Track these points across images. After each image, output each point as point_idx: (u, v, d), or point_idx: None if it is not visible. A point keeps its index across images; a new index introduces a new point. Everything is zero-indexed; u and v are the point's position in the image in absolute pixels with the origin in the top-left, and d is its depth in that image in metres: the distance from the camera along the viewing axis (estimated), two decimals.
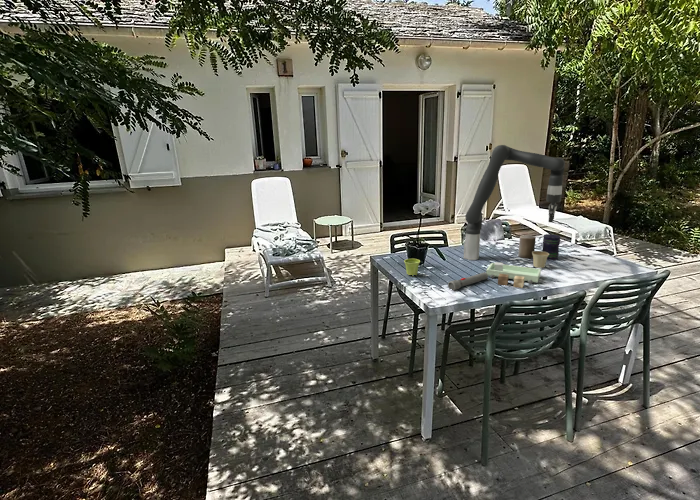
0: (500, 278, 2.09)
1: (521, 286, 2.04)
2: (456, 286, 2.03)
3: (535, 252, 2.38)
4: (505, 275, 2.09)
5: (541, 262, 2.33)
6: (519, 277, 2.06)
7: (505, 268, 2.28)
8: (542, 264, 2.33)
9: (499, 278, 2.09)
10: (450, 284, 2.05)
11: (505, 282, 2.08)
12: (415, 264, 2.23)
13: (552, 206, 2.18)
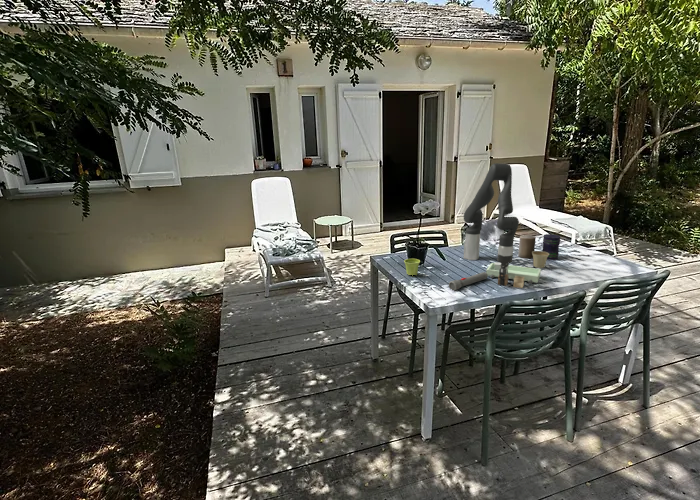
0: None
1: (521, 286, 2.04)
2: (457, 286, 2.03)
3: (535, 252, 2.39)
4: (505, 275, 2.09)
5: (541, 262, 2.33)
6: (519, 277, 2.06)
7: None
8: (542, 264, 2.33)
9: (499, 278, 2.09)
10: (451, 284, 2.05)
11: (505, 282, 2.08)
12: (415, 264, 2.23)
13: (502, 270, 2.03)
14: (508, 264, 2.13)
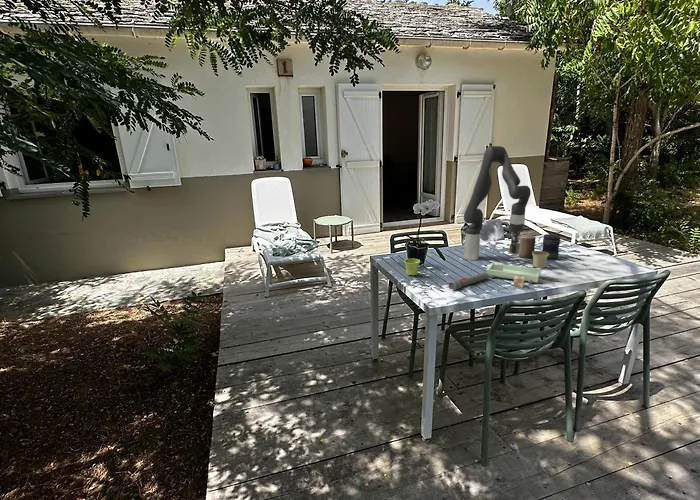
0: None
1: (521, 286, 2.04)
2: (457, 286, 2.03)
3: (535, 252, 2.39)
4: (517, 244, 2.15)
5: (541, 262, 2.33)
6: (519, 277, 2.06)
7: (505, 268, 2.28)
8: (542, 264, 2.33)
9: (511, 246, 2.15)
10: (451, 284, 2.05)
11: (517, 250, 2.14)
12: (415, 264, 2.23)
13: (514, 238, 2.09)
14: (519, 233, 2.19)
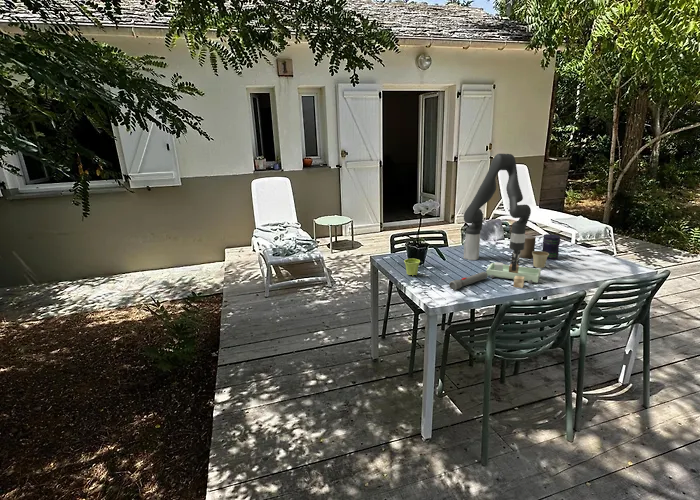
0: (511, 268, 2.18)
1: (521, 286, 2.04)
2: (457, 286, 2.03)
3: (535, 252, 2.39)
4: None
5: (541, 262, 2.33)
6: (519, 277, 2.06)
7: (505, 268, 2.28)
8: (542, 264, 2.33)
9: (510, 268, 2.18)
10: (451, 284, 2.05)
11: (516, 272, 2.17)
12: (415, 264, 2.23)
13: (514, 255, 2.09)
14: None
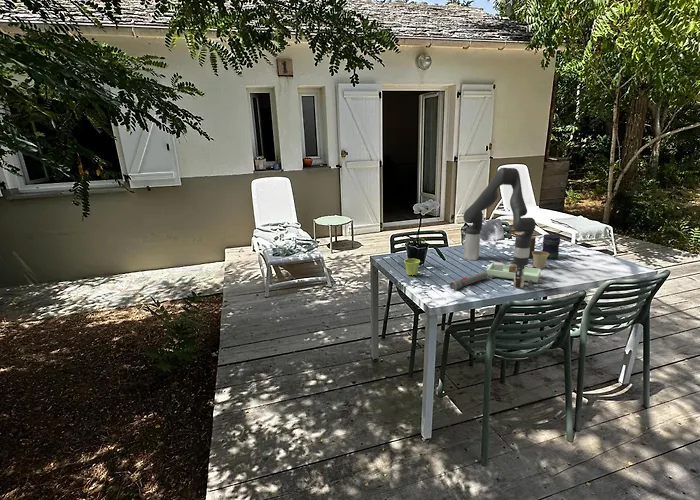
0: (511, 268, 2.18)
1: (521, 286, 2.04)
2: (458, 286, 2.03)
3: (535, 252, 2.38)
4: (516, 265, 2.19)
5: (541, 262, 2.33)
6: None
7: (505, 268, 2.28)
8: (542, 264, 2.33)
9: (510, 268, 2.18)
10: (451, 284, 2.05)
11: None
12: (415, 264, 2.23)
13: (518, 273, 1.99)
14: None
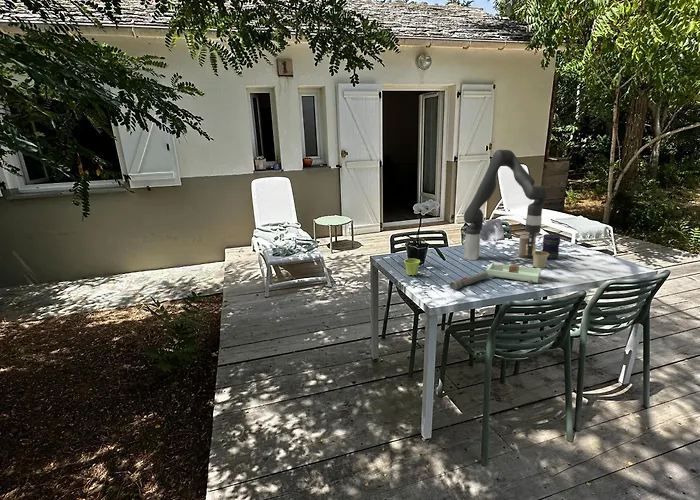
0: (511, 268, 2.18)
1: (533, 253, 2.10)
2: (458, 286, 2.03)
3: (535, 252, 2.39)
4: (516, 265, 2.19)
5: (541, 262, 2.33)
6: None
7: (505, 268, 2.28)
8: (542, 264, 2.33)
9: (510, 268, 2.18)
10: (451, 284, 2.05)
11: (516, 272, 2.17)
12: (415, 264, 2.23)
13: (530, 240, 2.05)
14: (535, 235, 2.15)
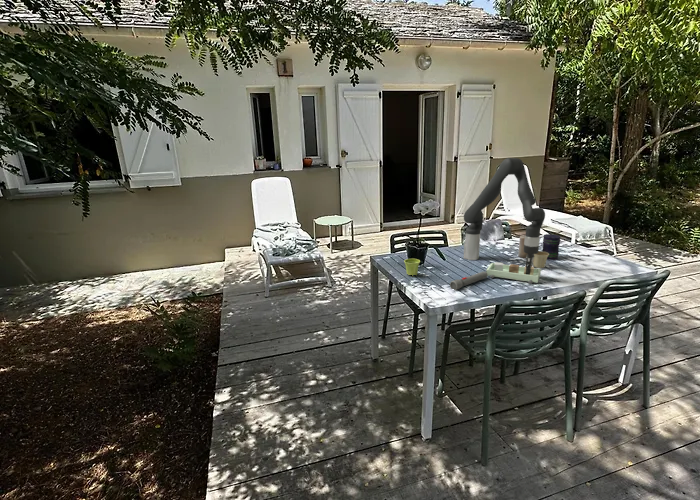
0: (511, 268, 2.18)
1: None
2: (458, 286, 2.03)
3: None
4: (516, 265, 2.19)
5: (541, 262, 2.33)
6: None
7: (505, 268, 2.28)
8: (542, 264, 2.33)
9: (510, 268, 2.18)
10: (452, 284, 2.05)
11: (516, 272, 2.17)
12: (415, 264, 2.23)
13: (529, 259, 2.08)
14: (534, 253, 2.18)
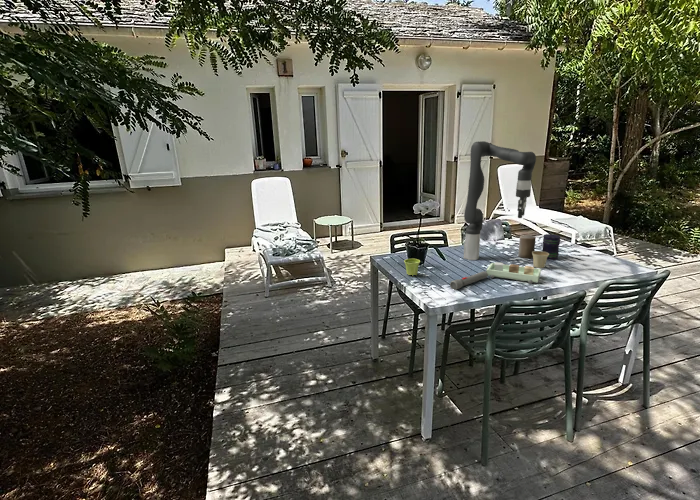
0: (511, 268, 2.18)
1: None
2: (458, 285, 2.03)
3: (535, 252, 2.39)
4: (516, 265, 2.19)
5: (541, 262, 2.33)
6: (529, 267, 2.15)
7: (505, 268, 2.28)
8: (542, 264, 2.33)
9: (510, 268, 2.18)
10: (452, 284, 2.05)
11: (516, 272, 2.17)
12: (415, 264, 2.23)
13: (521, 201, 2.13)
14: (526, 198, 2.23)
